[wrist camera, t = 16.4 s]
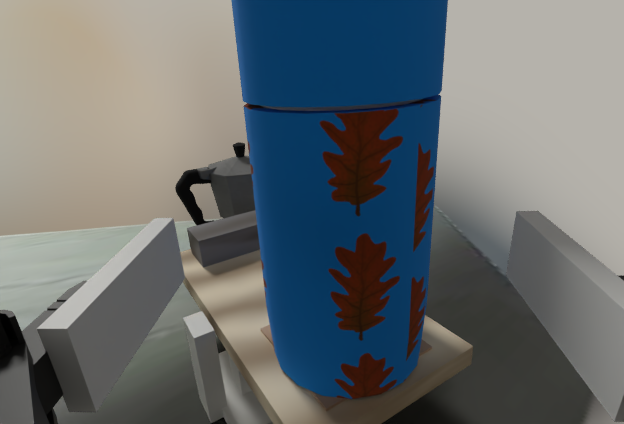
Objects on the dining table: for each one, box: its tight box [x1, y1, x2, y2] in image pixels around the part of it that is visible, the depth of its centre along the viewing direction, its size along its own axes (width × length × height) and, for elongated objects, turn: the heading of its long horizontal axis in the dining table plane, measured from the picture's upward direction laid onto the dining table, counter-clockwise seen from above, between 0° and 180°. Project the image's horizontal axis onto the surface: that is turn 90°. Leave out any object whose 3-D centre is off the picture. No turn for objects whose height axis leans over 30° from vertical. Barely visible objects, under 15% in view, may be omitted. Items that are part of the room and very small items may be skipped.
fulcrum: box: [183, 311, 273, 424], centre depth 37 cm, size 10×18×9 cm, turn 123°
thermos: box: [232, 0, 448, 399], centre depth 24 cm, size 11×11×25 cm
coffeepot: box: [176, 143, 255, 225], centre depth 54 cm, size 15×9×18 cm, turn 121°
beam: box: [180, 210, 473, 424], centre depth 35 cm, size 28×14×5 cm, turn 33°
